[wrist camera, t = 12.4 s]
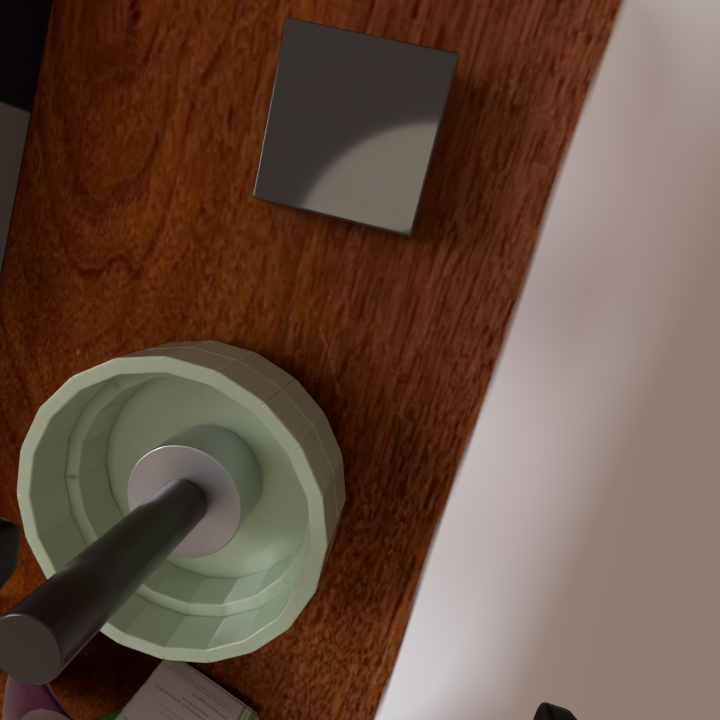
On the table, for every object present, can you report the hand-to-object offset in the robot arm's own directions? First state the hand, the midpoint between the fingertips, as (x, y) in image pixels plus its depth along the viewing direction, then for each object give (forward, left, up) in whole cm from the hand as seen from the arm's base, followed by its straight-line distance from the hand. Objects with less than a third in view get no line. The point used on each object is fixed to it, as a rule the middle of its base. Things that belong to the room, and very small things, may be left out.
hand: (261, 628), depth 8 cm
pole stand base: (+3, -10, -13) cm, 17 cm away
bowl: (+6, +5, -13) cm, 15 cm away
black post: (+6, +5, -12) cm, 14 cm away
